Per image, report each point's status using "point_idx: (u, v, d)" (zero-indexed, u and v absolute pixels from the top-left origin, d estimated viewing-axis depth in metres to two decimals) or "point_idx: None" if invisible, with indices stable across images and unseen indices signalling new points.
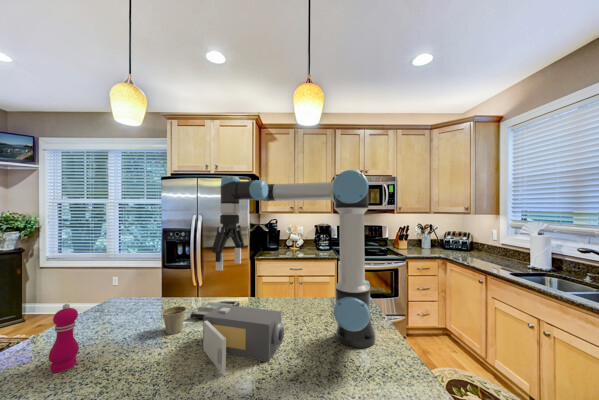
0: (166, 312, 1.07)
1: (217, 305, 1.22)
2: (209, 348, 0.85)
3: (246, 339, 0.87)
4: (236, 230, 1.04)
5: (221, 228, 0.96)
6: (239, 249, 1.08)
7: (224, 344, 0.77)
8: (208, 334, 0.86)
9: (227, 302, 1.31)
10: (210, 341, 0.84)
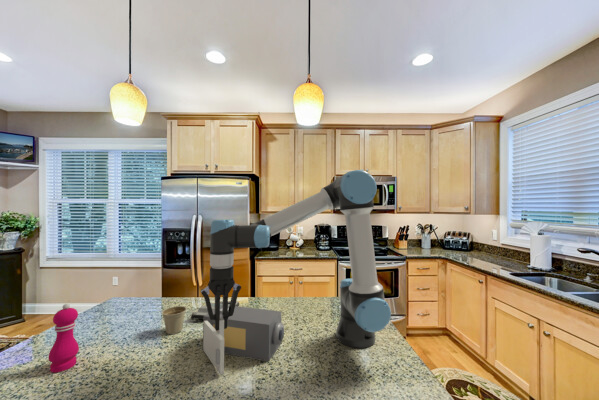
0: (166, 312, 1.07)
1: None
2: (208, 348, 0.85)
3: (246, 339, 0.87)
4: (228, 289, 0.82)
5: None
6: (221, 321, 0.81)
7: (222, 345, 0.77)
8: (207, 334, 0.86)
9: None
10: (209, 341, 0.84)
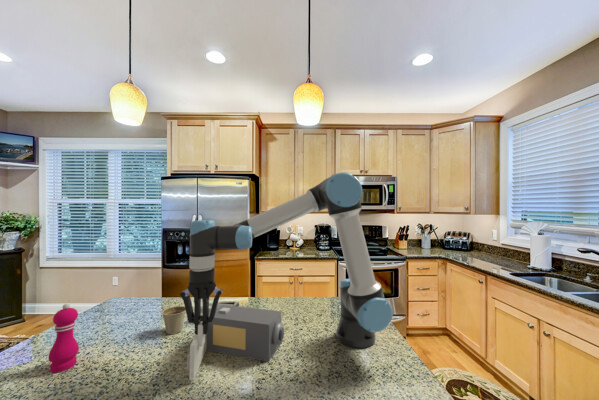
0: (166, 312, 1.07)
1: (217, 306, 1.21)
2: None
3: (246, 339, 0.87)
4: (205, 293, 0.78)
5: None
6: None
7: (192, 350, 0.73)
8: None
9: (226, 303, 1.30)
10: None
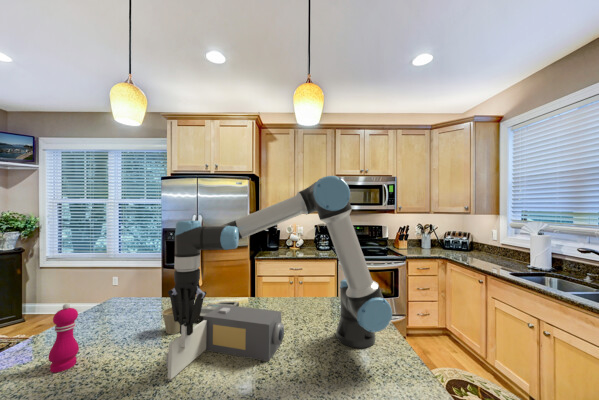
0: (166, 312, 1.07)
1: (218, 306, 1.21)
2: None
3: (246, 339, 0.87)
4: (187, 294, 0.77)
5: None
6: None
7: (170, 349, 0.74)
8: None
9: (226, 303, 1.29)
10: None
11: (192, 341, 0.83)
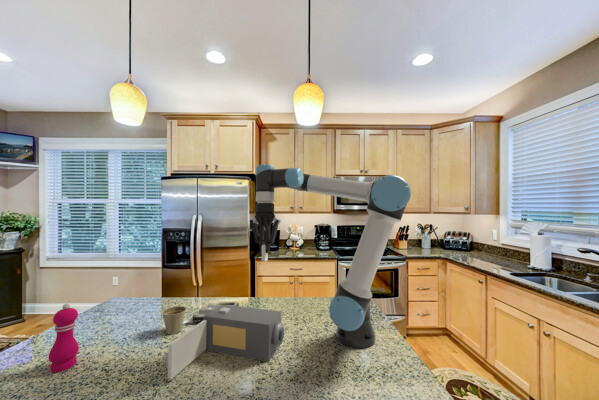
0: (166, 312, 1.07)
1: None
2: None
3: (246, 339, 0.87)
4: (267, 220, 1.00)
5: None
6: None
7: (170, 349, 0.74)
8: None
9: (226, 303, 1.29)
10: None
11: (192, 341, 0.83)
